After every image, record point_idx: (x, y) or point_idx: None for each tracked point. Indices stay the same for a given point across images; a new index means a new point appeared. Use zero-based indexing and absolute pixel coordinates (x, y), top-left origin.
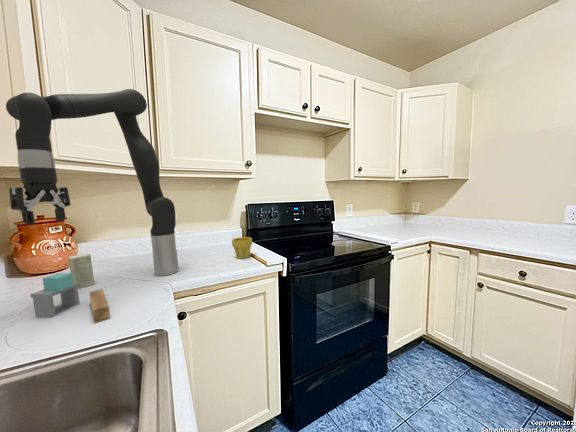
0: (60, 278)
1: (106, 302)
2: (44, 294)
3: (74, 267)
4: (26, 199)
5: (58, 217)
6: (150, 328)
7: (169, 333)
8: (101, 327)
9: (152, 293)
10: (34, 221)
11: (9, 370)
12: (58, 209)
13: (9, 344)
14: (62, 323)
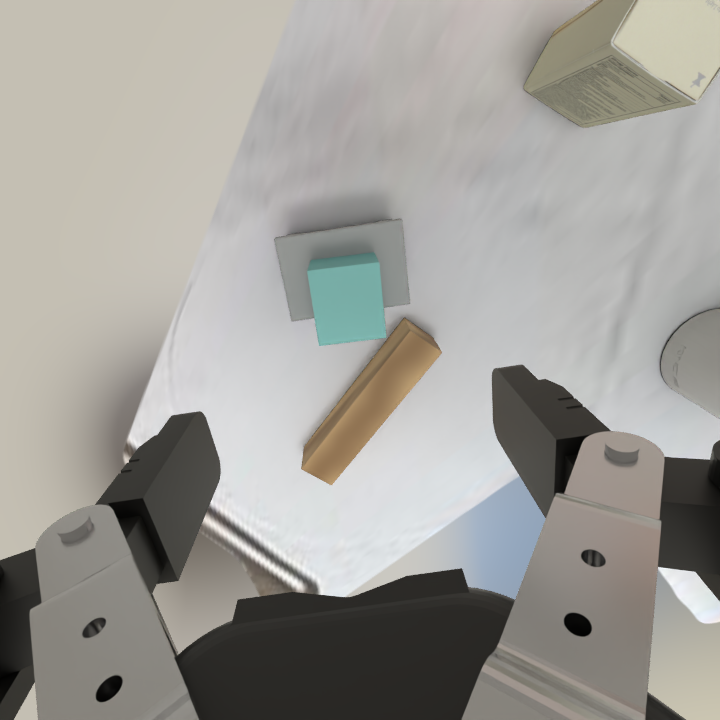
0: (331, 342)
1: (349, 460)
2: (287, 301)
3: (585, 69)
4: (74, 679)
5: (506, 409)
6: (314, 572)
7: None
8: (292, 479)
9: (489, 451)
10: (215, 489)
11: (128, 455)
12: (547, 491)
13: (172, 345)
14: (281, 367)
